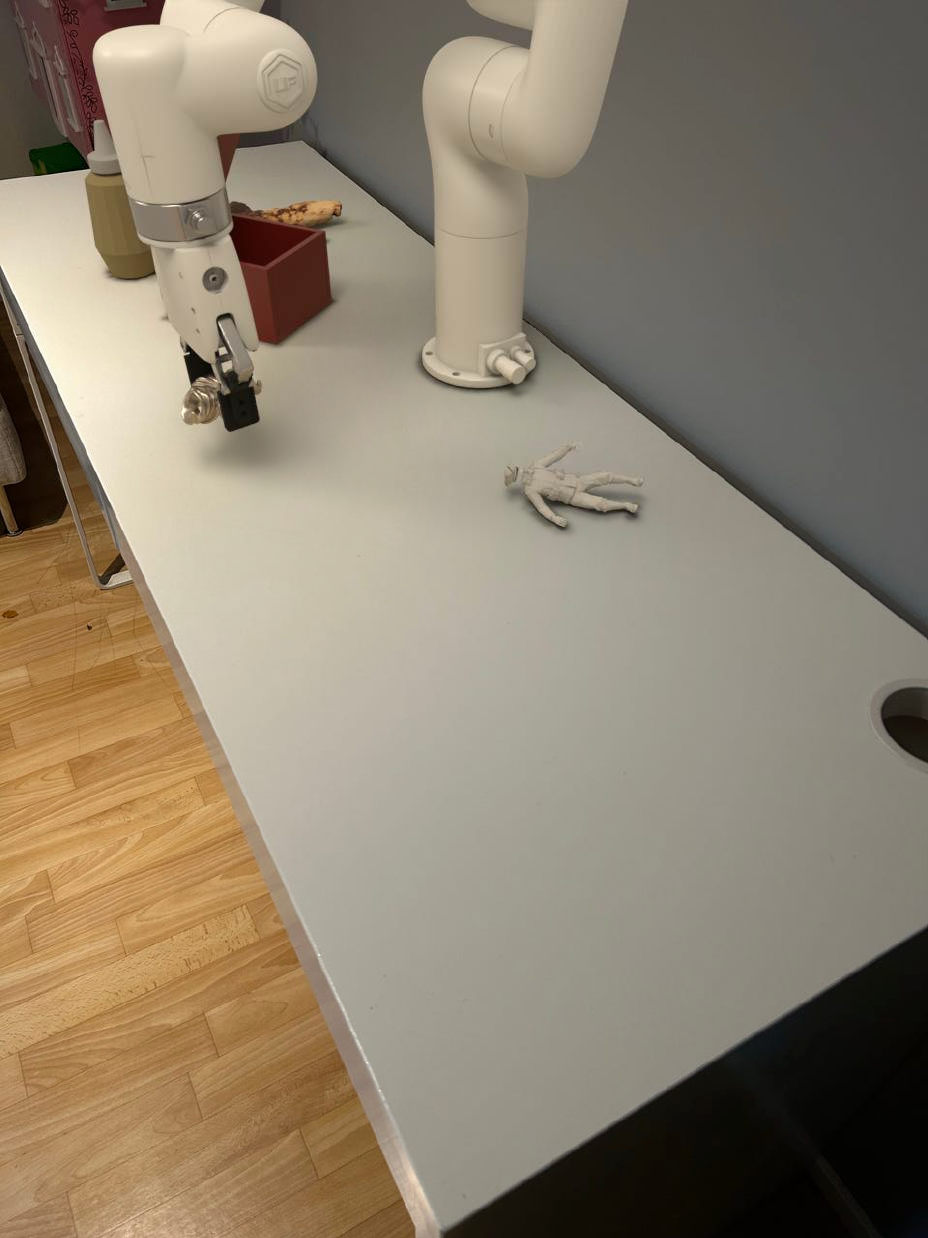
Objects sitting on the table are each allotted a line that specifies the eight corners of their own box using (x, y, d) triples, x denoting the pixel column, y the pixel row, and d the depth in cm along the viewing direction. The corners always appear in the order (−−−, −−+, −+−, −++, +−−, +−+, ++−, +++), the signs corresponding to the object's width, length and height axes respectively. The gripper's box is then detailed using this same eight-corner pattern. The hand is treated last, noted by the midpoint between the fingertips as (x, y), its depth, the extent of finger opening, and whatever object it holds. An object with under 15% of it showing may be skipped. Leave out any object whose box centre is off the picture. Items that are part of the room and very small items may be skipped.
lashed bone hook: (231, 260, 127) (357, 237, 132) (225, 226, 123) (354, 203, 128) (215, 233, 132) (336, 212, 137) (209, 199, 129) (333, 179, 134)
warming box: (332, 301, 117) (325, 230, 111) (276, 344, 108) (266, 270, 102) (228, 278, 121) (216, 209, 115) (167, 318, 113) (151, 245, 107)
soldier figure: (631, 543, 84) (506, 509, 81) (611, 546, 88) (491, 514, 86) (650, 459, 84) (526, 422, 81) (628, 467, 89) (510, 432, 86)
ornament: (214, 445, 83) (205, 410, 81) (170, 417, 87) (160, 382, 84) (284, 409, 87) (278, 374, 85) (240, 383, 91) (233, 349, 88)
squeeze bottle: (174, 259, 126) (143, 112, 113) (153, 285, 120) (119, 132, 107) (115, 256, 126) (79, 109, 114) (92, 281, 120) (51, 130, 108)
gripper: (272, 236, 70) (304, 437, 83) (185, 169, 81) (225, 357, 93) (177, 261, 67) (226, 466, 80) (99, 188, 78) (153, 380, 90)
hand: (225, 406), depth 86 cm, fingers closed on ornament, 6 cm apart
